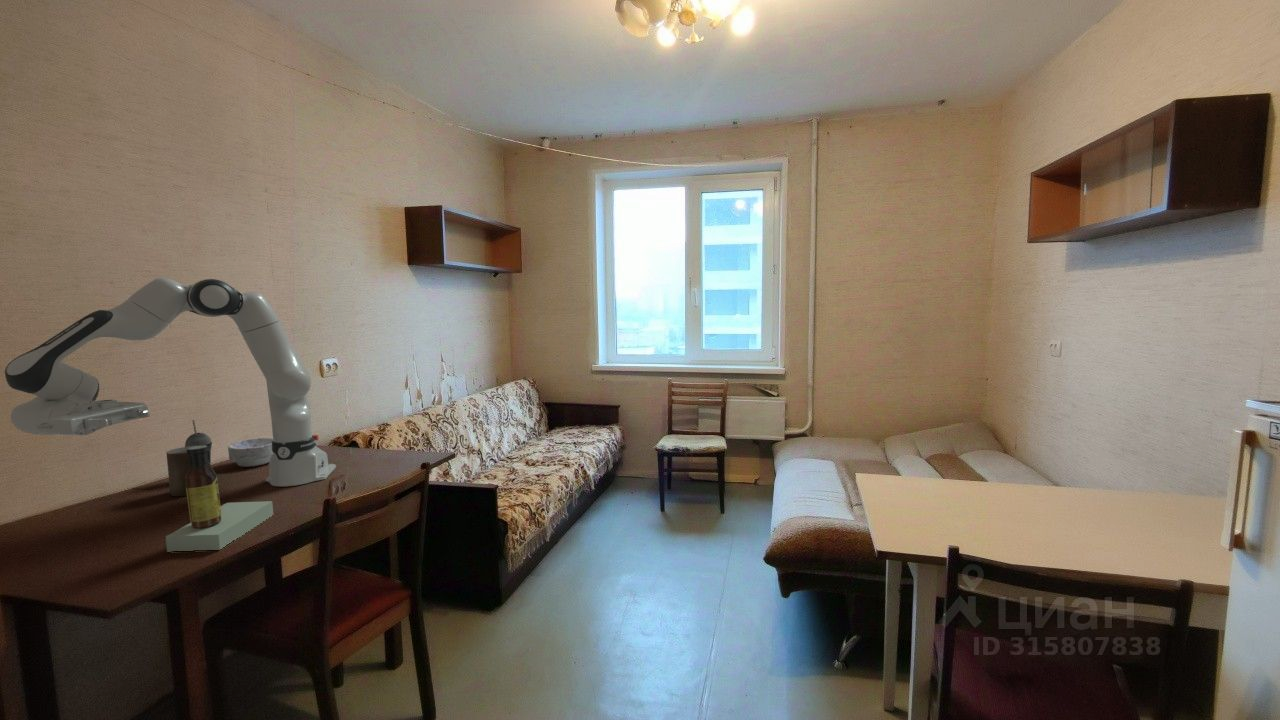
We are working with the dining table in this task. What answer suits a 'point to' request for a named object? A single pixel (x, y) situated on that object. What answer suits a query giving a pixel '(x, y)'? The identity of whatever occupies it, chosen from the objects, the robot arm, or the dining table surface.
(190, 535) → the pale green rectangular block
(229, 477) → the dining table surface
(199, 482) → the sauce bottle
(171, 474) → the pillar candle
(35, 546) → the dining table surface
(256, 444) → the paper bowls
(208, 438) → the beverage cup
